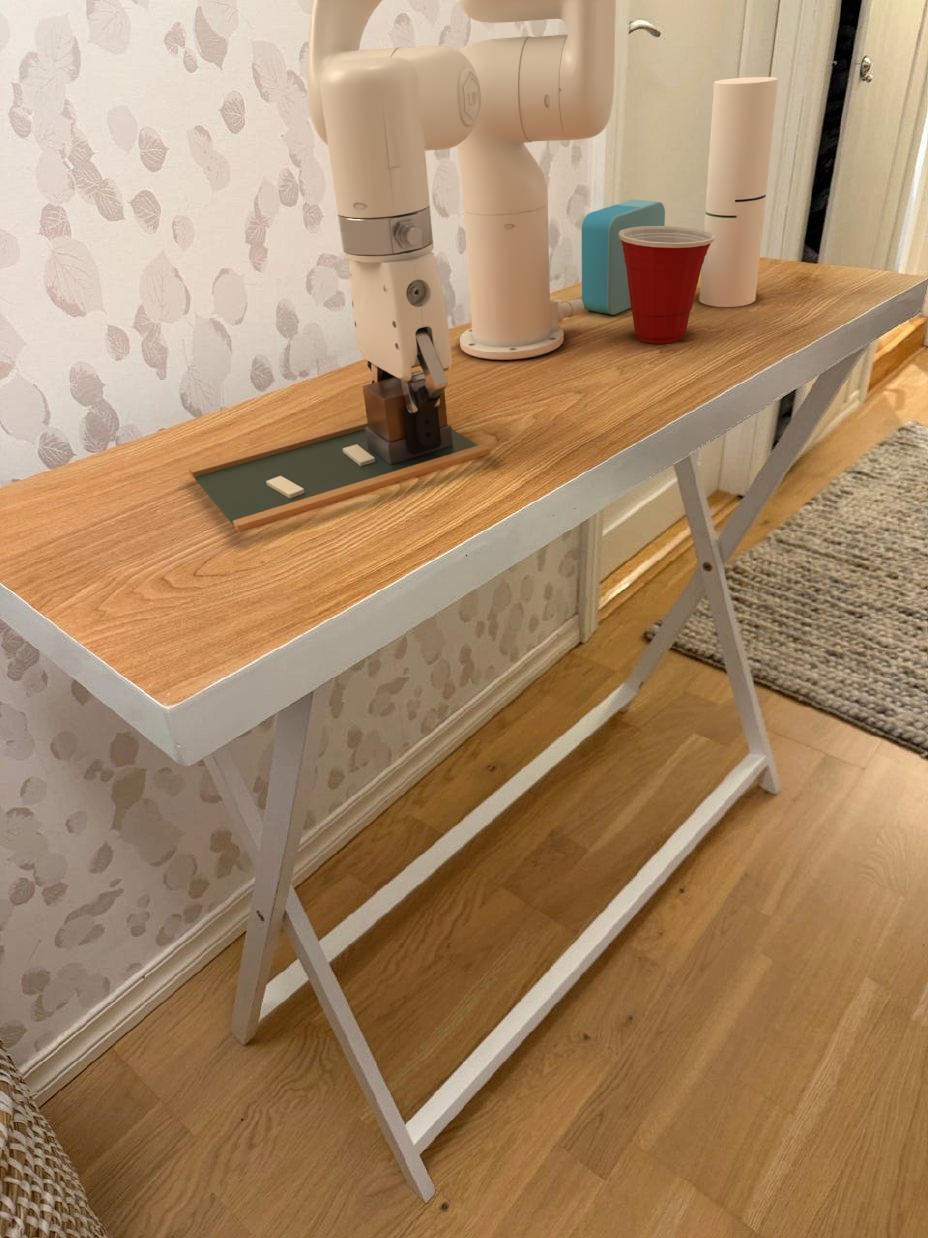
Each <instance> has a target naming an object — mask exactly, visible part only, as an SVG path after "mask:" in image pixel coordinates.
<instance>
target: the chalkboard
mask: <svg viewBox="0 0 928 1238" xmlns="http://www.w3.org/2000/svg"><path fill="white" fill-rule="evenodd" d="M366 427H368V422H367V418H363V419H361V420H357V421H353V422H350V423H346V424H343V425H339V426H335V427H331V428H327V429H325V430H321V431H317V432H314V433H311V434H307V435H303V436H299V437H295V438H293V439H288V440H284V441H282V442H278V443H274V444H271V445H266V446H264V447H260V448H257V449H253V450H249V451H244V452H242V453H239V454H235V455H230V456H227V457H223V458H221V459H217V460H213V461H210V462H206V463H204V464H198V465H196V466H192V467H189V468H188V470H189V474H190V476H191V477H192V478H193V479H194V480H195V482H196V483H197V484H198V485H199V486H200V487H201V489H202V490H203V491H204V492H205V493H206V495H207V496H208V497H209V498H210V499H211V501H212V502H213V503H214V504H215V505H216V507H217V508H218V509H219V510H220V511H221V513H222V514H223V515H224V516H225V518H226V519H227V520H228V521H229V523H231V525H232V526H233V527H234V529H235V530H236V531H237V532H238V533H240V532H243V531H246V530H249V529H252V528H256V527H259V526H262V525H266V524H269V523H271V522H275V521H278V520H281V519H285V518H287V517H288V518H289V517H291V516H294V515H298V514H301V513H304V512H307V511H311V510H314V509H317V508H320V507H324V506H326V505H329V504H333V503H337V502H339V501H343V500H346V499H349V498H352V497H356V496H359V495H362V494H365V493H369V492H371V491H374V490H375V491H376V490H379V489H380V488H381V489H382V488H384V487H387V486H391V485H394V484H398V483H400V482H403V481H407V480H410V479H413V478H416V477H419V476H422V475H426V474H429V473H431V472H435V471H438V470H439V471H440V470H442V469H446V468H448V467H452V466H455V465H458V464H461V463H464V462H468V461H471V460H474V459H477V458H480V457H483V456H486V455H490V454H491V447H490V446H488V445H487V444H485V443H482V444H477V443H475V442H474V441H472V440H471V439H469V438H467V437H465V436H464V435H463V434H461V433H459V432H458V431H456V430H454V429H453V428H451V429H452V441H453V446H450V447H447V448H444V449H441V450H437V451H434V452H431V453H427V454H424V455H421V456H418V457H414V458H411V459H408V460H404V461H401V462H398V463H395V464H390V463H388V462H387V461H385V460H384V459H383V458H381V457H380V456H379V455H377V454H376V453H375V452H373V451H372V450H371V449H369V448H368V446H367V439H366V432H365V428H366ZM356 444H357V445H358V446H360V447H361V448H362V449H364V450H365V451H366V452H368V453H369V454H370V455H371V456H373V457H374V458H375V462H373V463H370V464H367V465H363V466H360V465H359V464H357V463H356V462H355V461H354V460H352V459H351V458H350V457H349V456H347V455H346V454H345V453H344V452H343V448H346V447H349V446H353V445H356ZM278 476H282V477H284V478H286V479H287V480H289V481H291V482H293V483H294V484H296V485H298V486H300V487H301V488H303V489H304V492H305V493H303V494H300V495H298V496H295V497H293V498H288V497H287V496H285V495H283V494H281V493H280V492H278V491H276V490H275V489H273V488H271V487H270V486H268V485H267V483H266V481H268V480H270V479H273V478H276V477H278Z"/></svg>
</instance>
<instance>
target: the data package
mask: <svg viewBox="0 0 928 1238" xmlns="http://www.w3.org/2000/svg"><path fill="white" fill-rule="evenodd" d="M665 221H666V209H665V206H664V204H663V203H662V202H661V201H655V200H644V199H643V200H642V199H633V198H631V199H629V200H626V201H622V202H620V203H616V204H613V205H610V206H606V207H604V208H601V209H597V210H595V211H592V212H589V213H587V214H586V215H585V216H584V218H583V220H582V223H581V300H582V302H583V304H584V310H586V311H589V312H594V313H600V314H607V315H612V316H615V315H617V314H621V313H622V312H625V311H627V310H629V309H631V304H630V296H629V287H628V279H627V270H626V263H625V258H624V253H623V246H622V242H621V239H619V232H620V231H621V230H624V229H627V228H633V227H641V226H666V225H665Z"/></svg>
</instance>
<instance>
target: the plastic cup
mask: <svg viewBox="0 0 928 1238" xmlns="http://www.w3.org/2000/svg"><path fill="white" fill-rule="evenodd" d="M619 239H621V242H622V246H623V253H624V258H625V263H626V270H627V279H628V287H629V296H630V304H631V308H630V311H631V312H632V320H633V321H632V322H633V329H634V333H635V338H636V339H637V340H638V341H640V342H643V343H645V344H646V343H647V344H654V345H655V344H656V345H657V344H664V345H665V344H672V343H676V342H679V341H681V340H683V339H684V338H685V334H686V333H687V328H688V323H689V318H690V316H691V315H690V314H691V310H692V309H693V304H694V301H695V297H696V293H697V292H696V291H697V287H698V284H699V280H700V277H701V267H702V264H703V262H704V258H705V255H706V254H707V250H708V248H709V246H710V245H711V243H712V242H713V241H714V239H715V235H714V234H712V233H710V232H708V231H704V229H698V228H694V227H685V226H675V225H674V226H673V225H671V226H670V225H665V226H641V227H633V228H627V229H624V230H621V231H620V232H619Z"/></svg>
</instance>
